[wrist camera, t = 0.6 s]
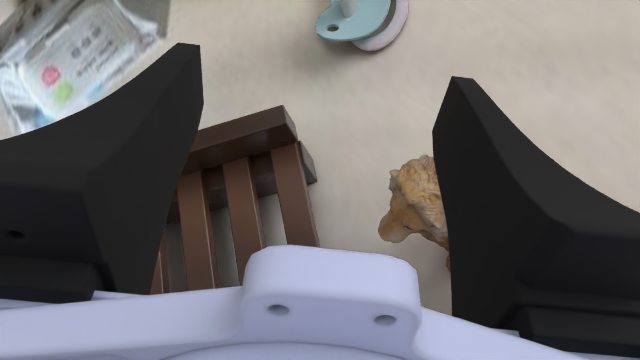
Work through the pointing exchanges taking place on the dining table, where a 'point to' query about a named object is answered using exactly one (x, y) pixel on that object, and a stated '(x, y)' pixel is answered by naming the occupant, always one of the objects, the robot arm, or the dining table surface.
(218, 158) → the rack
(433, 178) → the lion figurine
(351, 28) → the pacifier
